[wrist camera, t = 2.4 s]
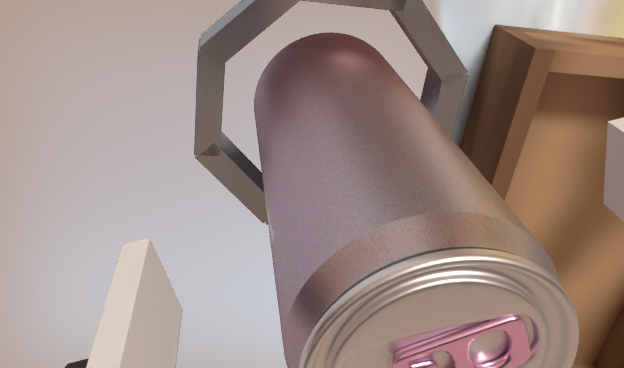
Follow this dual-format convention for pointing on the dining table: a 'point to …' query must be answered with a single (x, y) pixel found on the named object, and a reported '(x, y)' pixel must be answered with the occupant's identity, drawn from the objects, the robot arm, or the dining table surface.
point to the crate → (558, 164)
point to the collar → (257, 17)
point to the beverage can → (392, 228)
